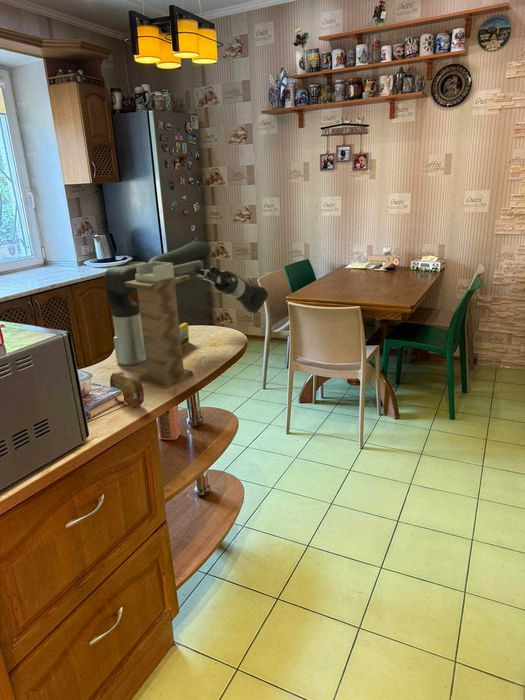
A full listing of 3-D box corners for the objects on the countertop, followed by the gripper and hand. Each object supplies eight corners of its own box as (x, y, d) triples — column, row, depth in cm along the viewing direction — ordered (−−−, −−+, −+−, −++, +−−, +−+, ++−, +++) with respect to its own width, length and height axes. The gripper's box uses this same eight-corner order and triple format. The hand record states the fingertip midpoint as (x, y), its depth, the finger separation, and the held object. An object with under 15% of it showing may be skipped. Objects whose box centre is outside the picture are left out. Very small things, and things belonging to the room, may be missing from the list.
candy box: (169, 357, 177) (167, 335, 174) (164, 357, 177) (161, 335, 174) (190, 343, 191) (188, 322, 188) (185, 342, 192) (183, 322, 189)
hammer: (154, 283, 142) (152, 267, 140) (135, 280, 146) (133, 265, 145) (210, 269, 160) (208, 255, 158) (192, 267, 164) (190, 253, 163)
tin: (111, 396, 146) (106, 370, 143) (120, 393, 148) (116, 367, 146) (137, 411, 136) (133, 383, 133) (147, 407, 138) (144, 380, 135)
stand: (163, 389, 149) (150, 285, 138) (137, 381, 156) (123, 282, 145) (199, 372, 161) (190, 275, 150) (173, 365, 168) (163, 272, 157)
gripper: (243, 296, 170) (214, 280, 157) (212, 293, 178) (182, 277, 165) (248, 276, 171) (220, 258, 158) (217, 273, 179) (188, 256, 166)
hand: (201, 268), depth 161 cm, fingers open, 8 cm apart
